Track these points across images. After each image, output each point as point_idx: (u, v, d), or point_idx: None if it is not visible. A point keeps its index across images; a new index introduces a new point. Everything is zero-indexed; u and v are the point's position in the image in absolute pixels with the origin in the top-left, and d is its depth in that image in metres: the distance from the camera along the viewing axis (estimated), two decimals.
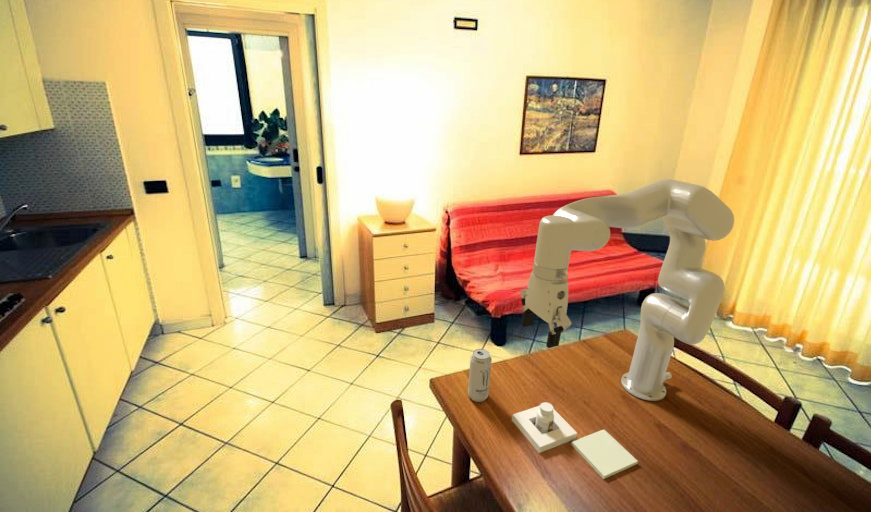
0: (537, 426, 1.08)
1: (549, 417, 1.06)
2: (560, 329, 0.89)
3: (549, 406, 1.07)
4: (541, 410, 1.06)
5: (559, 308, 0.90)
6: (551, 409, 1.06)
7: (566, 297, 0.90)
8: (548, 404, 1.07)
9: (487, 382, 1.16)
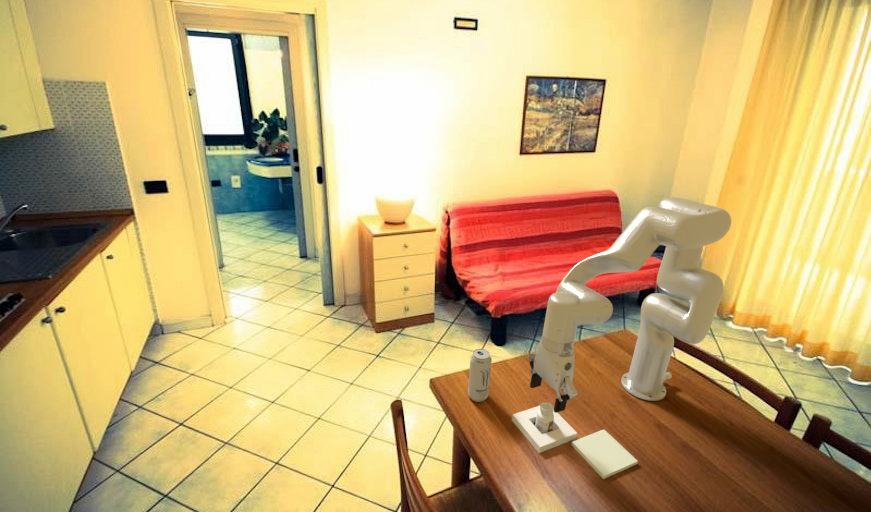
0: (537, 426, 1.08)
1: (549, 417, 1.06)
2: (567, 398, 0.96)
3: (549, 406, 1.07)
4: (541, 410, 1.06)
5: (566, 378, 0.97)
6: (551, 409, 1.06)
7: (572, 367, 0.97)
8: (548, 404, 1.07)
9: (487, 382, 1.16)
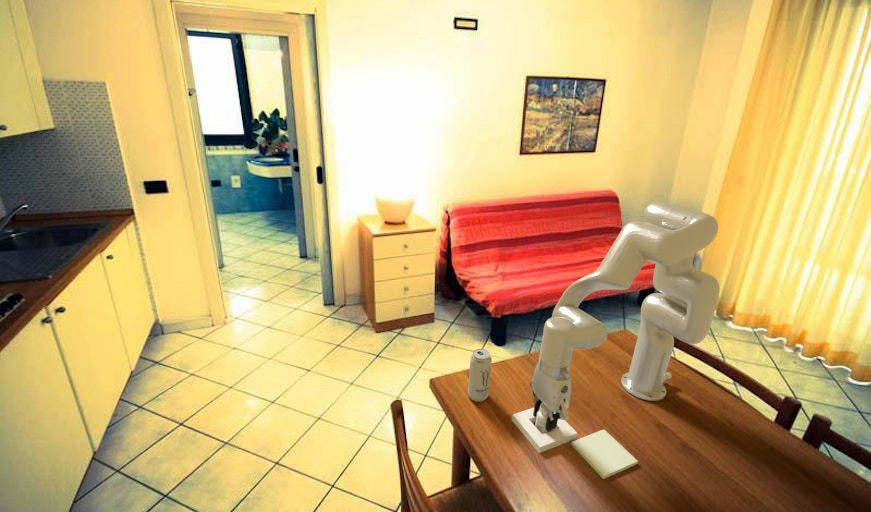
0: (537, 426, 1.08)
1: None
2: (557, 417, 1.02)
3: None
4: (541, 410, 1.06)
5: (562, 402, 1.00)
6: None
7: (569, 390, 1.00)
8: None
9: (487, 382, 1.16)
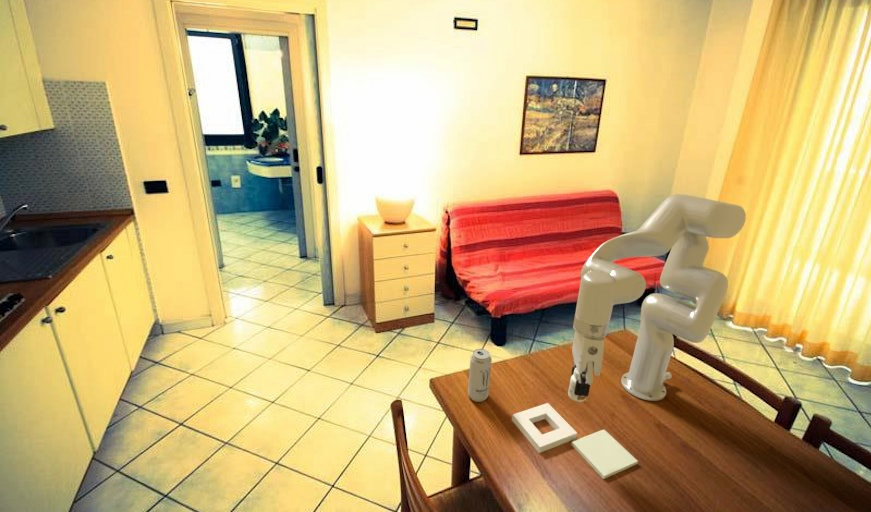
0: (569, 389, 1.01)
1: None
2: (583, 380, 0.94)
3: None
4: (574, 372, 0.99)
5: (589, 364, 0.92)
6: (584, 374, 0.97)
7: (599, 354, 0.91)
8: None
9: (487, 382, 1.16)
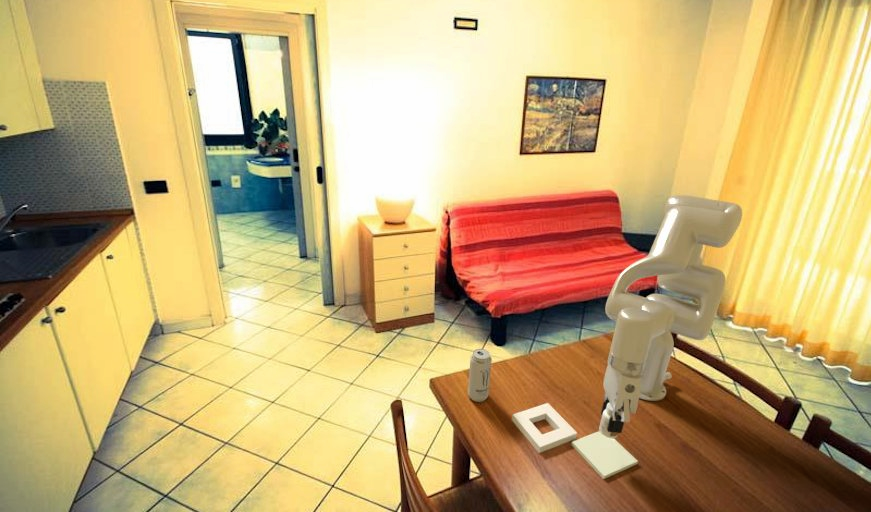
0: (600, 425, 0.99)
1: None
2: (618, 418, 0.92)
3: None
4: (606, 408, 0.97)
5: (625, 402, 0.90)
6: None
7: (636, 392, 0.89)
8: None
9: (487, 382, 1.16)
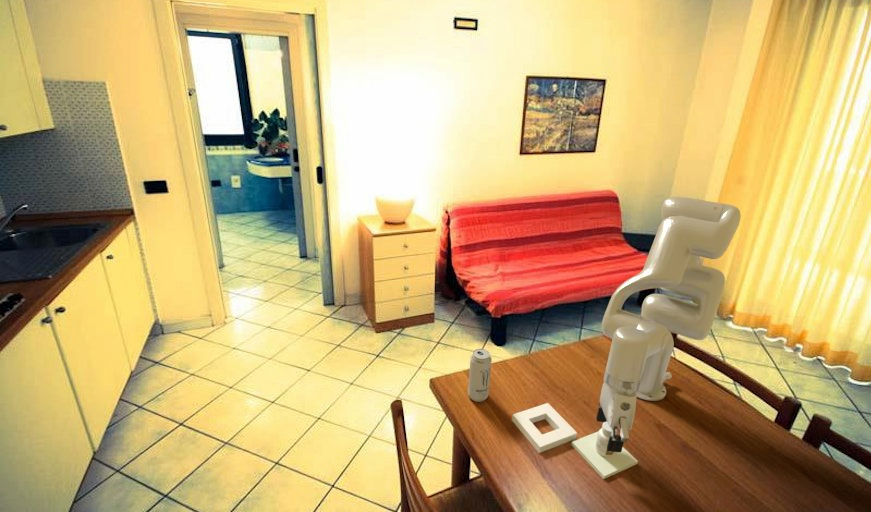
0: (596, 444, 1.02)
1: None
2: (618, 438, 0.91)
3: None
4: (602, 428, 1.00)
5: (622, 418, 0.92)
6: None
7: (632, 410, 0.91)
8: None
9: (487, 382, 1.16)
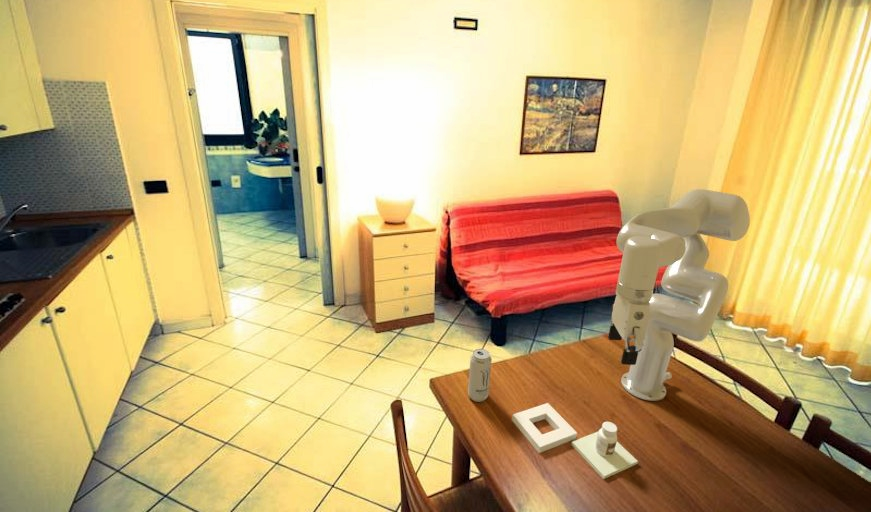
0: (596, 444, 1.02)
1: (609, 438, 0.99)
2: (632, 348, 0.91)
3: (613, 427, 0.99)
4: (602, 428, 1.00)
5: (636, 328, 0.91)
6: (613, 430, 0.98)
7: (645, 319, 0.90)
8: (613, 425, 1.00)
9: (487, 382, 1.16)
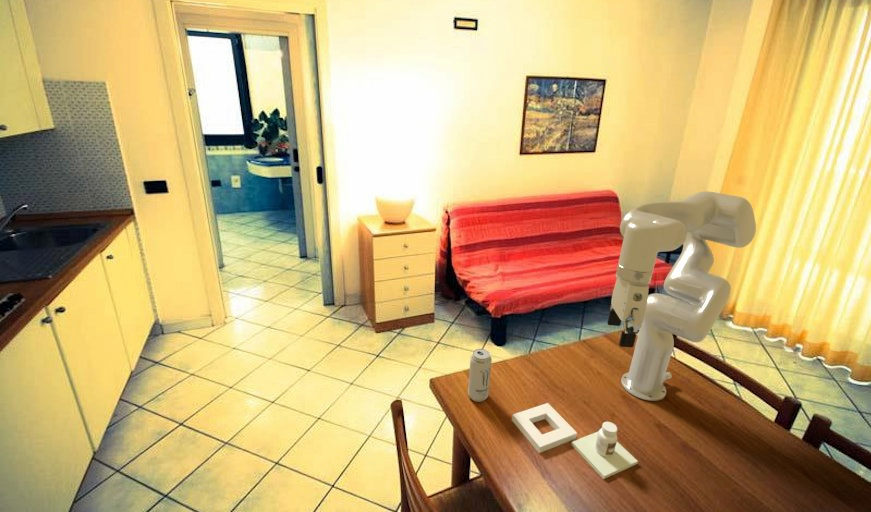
0: (596, 444, 1.02)
1: (609, 438, 0.99)
2: (630, 329, 0.93)
3: (613, 427, 0.99)
4: (602, 428, 1.00)
5: (634, 309, 0.93)
6: (613, 430, 0.98)
7: (644, 300, 0.93)
8: (613, 425, 1.00)
9: (487, 382, 1.16)
